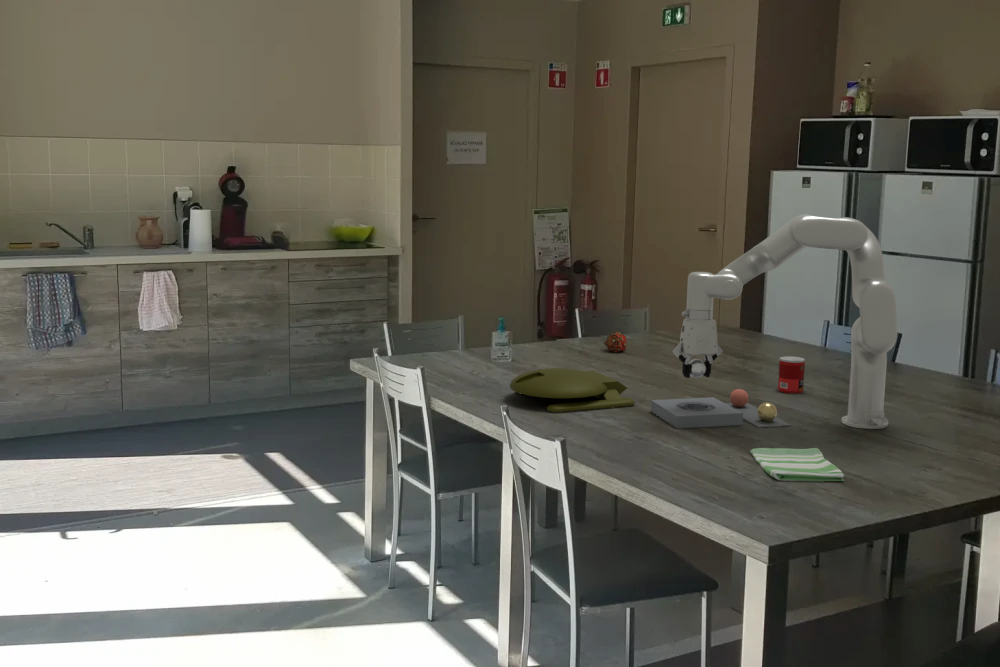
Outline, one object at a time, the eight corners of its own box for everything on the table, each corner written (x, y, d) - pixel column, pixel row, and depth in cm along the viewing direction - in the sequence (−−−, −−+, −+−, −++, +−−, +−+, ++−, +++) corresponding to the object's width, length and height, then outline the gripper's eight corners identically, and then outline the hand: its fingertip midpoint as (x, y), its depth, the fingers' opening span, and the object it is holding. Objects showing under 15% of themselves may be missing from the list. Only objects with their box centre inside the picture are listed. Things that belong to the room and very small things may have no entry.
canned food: (804, 394, 328) (806, 361, 327) (778, 393, 330) (780, 360, 328) (802, 389, 336) (804, 356, 334) (777, 388, 337) (778, 355, 336)
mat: (791, 426, 289) (791, 424, 289) (758, 427, 286) (758, 426, 286) (746, 403, 316) (746, 402, 316) (716, 405, 313) (716, 403, 313)
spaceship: (593, 386, 340) (593, 358, 338) (637, 407, 311) (638, 376, 310) (495, 394, 327) (495, 364, 326) (532, 417, 299) (533, 384, 297)
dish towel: (819, 455, 261) (820, 445, 261) (847, 484, 238) (848, 473, 238) (749, 454, 262) (750, 444, 262) (770, 483, 239) (771, 472, 238)
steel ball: (709, 379, 293) (709, 360, 292) (691, 379, 292) (692, 361, 291) (701, 375, 298) (702, 357, 298) (683, 376, 297) (684, 357, 296)
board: (742, 424, 290) (742, 413, 289) (676, 428, 285) (677, 416, 285) (712, 408, 309) (713, 397, 308) (650, 411, 305) (651, 400, 304)
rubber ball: (751, 408, 308) (752, 390, 307) (734, 409, 306) (735, 391, 305) (743, 404, 313) (743, 386, 312) (726, 405, 312) (727, 387, 311)
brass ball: (780, 423, 290) (781, 404, 289) (762, 424, 289) (763, 405, 288) (770, 418, 296) (771, 400, 295) (753, 419, 294) (754, 400, 293)
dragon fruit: (616, 358, 395) (611, 357, 407) (634, 345, 395) (628, 344, 407) (603, 340, 395) (599, 340, 407) (621, 328, 395) (616, 327, 407)
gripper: (676, 317, 287) (673, 380, 290) (732, 316, 290) (729, 378, 293) (666, 313, 294) (663, 375, 297) (721, 312, 298) (718, 373, 301)
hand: (696, 376), depth 295 cm, fingers closed on steel ball, 5 cm apart
